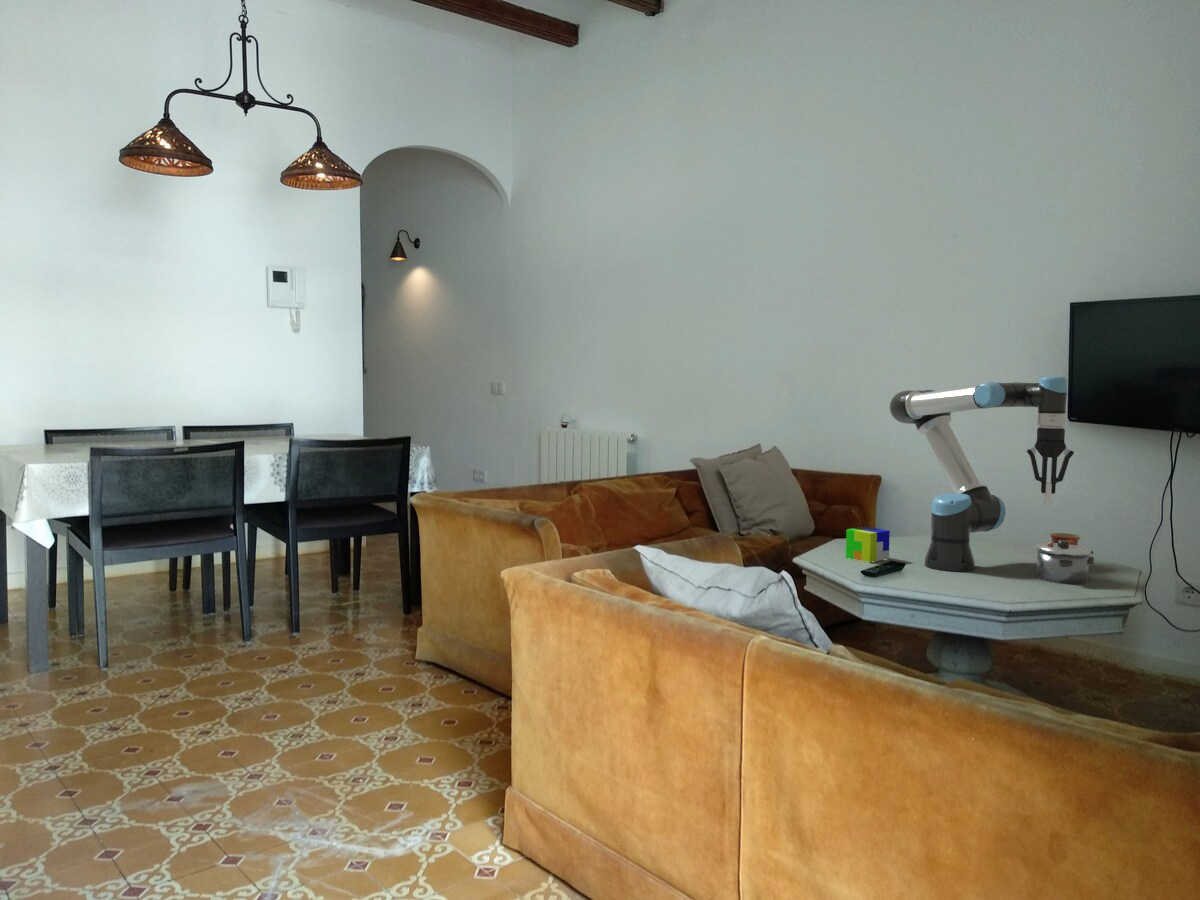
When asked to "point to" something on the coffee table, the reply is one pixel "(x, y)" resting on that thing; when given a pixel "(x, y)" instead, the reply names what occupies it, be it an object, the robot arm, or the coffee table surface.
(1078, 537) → the mug
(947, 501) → the robot arm
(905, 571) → the coffee table surface
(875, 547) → the puzzle toy
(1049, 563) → the pot
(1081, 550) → the lid
